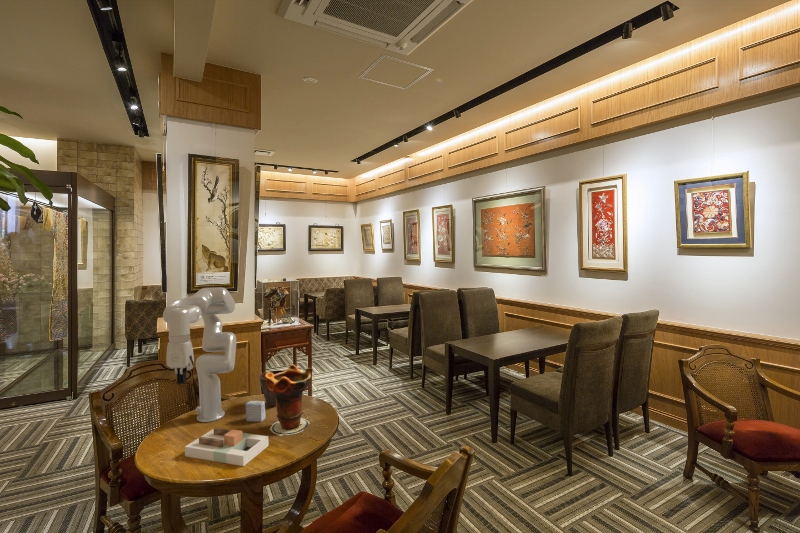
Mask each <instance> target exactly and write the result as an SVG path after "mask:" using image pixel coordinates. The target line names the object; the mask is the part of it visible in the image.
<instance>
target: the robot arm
mask: <svg viewBox="0 0 800 533" xmlns="http://www.w3.org/2000/svg"><path fill="white" fill-rule="evenodd" d="M235 310H236V303H235V300H234V298H233V296H232V295H231V293H230V291H229V290H228V289H226V287H219V286H218V287H202V288H201V289H199V290H198V291H196V292H195V293H194V294H193V295H191V296H188V297H187V296H186V297H183V298H181V299H177V300H175V301H172V302H171V303H169V304H168V305H167V306H166V307H165V308H164V310H163V314H162V318H163V321H164V322H165V323H167V324H168V342H167V346H166V354H165V355H166V357H165V358H166V359H165V361H166V366H167V367H168V368H170V369H172V370H174V373H175V375H176V383H177V384H178V385H183V384H184V383H186V382H187V373H188V371H190V370H193V369H194V366H193V365H194V364H195V369H196V373H197V378H198V392H199V406H197V407H196V408H195V409H194V413H198V415H197V416H196V420H197V421H198V422H200V423H210V422H216V421H218V420H221V419H222V418H223V417H224V416H225V414H226V411H224V410H223V409H222V399H221V398H222V396H221V381H220V380H221V379H220V378H219V376H218V375H217V374H224V373H225V374H226V373H231V372H232V371H233V370H234V368H235V363H236V353H237V352H236V351H237V337H236V334H235V333H233V332H229V331H225V332H224V331H223V326H224V325H223V322H222V320H221V319H220V317H219V316H217V315H228V314H232V313H233V312H234V311H235ZM201 318H202V320H203V326H204V327H203V334H202V341H201V348H202V350H203V351H204V352H208V353H205V354H201V355H199V356H198V357H197V358H196V361H195V355H194V348H193V343H192V340H191V328H190V326H191V324H193V323H194V324H195V323H197V322H198V321H200V320H201ZM209 352H210V353H209ZM213 352H215V353H213ZM217 352H221V353H217ZM222 352H223V353H222Z"/></svg>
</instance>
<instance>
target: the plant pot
mask: <svg viewBox="0 0 800 533" xmlns="http://www.w3.org/2000/svg"><path fill="white" fill-rule="evenodd" d="M284 371H285V370H280V369H279V370H269V371H266V372H263V373H261V374H260V375H259V383H260V386H261V387H260V388H261V391H262V393H263V396H264V399H265V403H266V405H267V406H268V407H275V408H276V399H275V394H274V393H272V392H271V391H270V390H269V388H268V386H267V379H266V378H265V374H266V373H268V372H271V373H273V374H277V373H281V372H284Z"/></svg>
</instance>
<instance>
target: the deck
mask: <svg viewBox="0 0 800 533" xmlns="http://www.w3.org/2000/svg"><path fill="white" fill-rule="evenodd" d="M242 434H243V441H241V442H240V443H238V444H237V445H236V446H229V445H224V436H221V435H214V428H212V429H211V430H209V431H208V432H206V433H205V434H202V435H201V436H200V437H207V438H214V439H220V440H223V447H216V446H209V445H203V444H199V438H200V437H198V438H196V439H194V440H193V441H192V442H190V443H188V444H187V445H185V446H184V456H185V457H187V458H193V459H199V460H204V461H206V460H207V461H212V462H217V463H223V464H228V465H234V466H239V467H241V466H242V467H244V466H246V465H247V464H248V463H249V462H251V461H252V460H253V459H254V458H256V457H257V456H258V455H259V454H260V453H262V452H263V451H264V450H265V449H266V448H267V447H268V446H269V444H270V443H269V435H261V434H253V433H247V432H242Z"/></svg>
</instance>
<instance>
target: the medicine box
mask: <svg viewBox="0 0 800 533" xmlns="http://www.w3.org/2000/svg"><path fill="white" fill-rule="evenodd" d="M245 416H246V420H245V421H246V422H263V421H264V420H265V419H266V418H267V417H266V400H265V401H264V400H249V401H248V402H246V404H245Z"/></svg>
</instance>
